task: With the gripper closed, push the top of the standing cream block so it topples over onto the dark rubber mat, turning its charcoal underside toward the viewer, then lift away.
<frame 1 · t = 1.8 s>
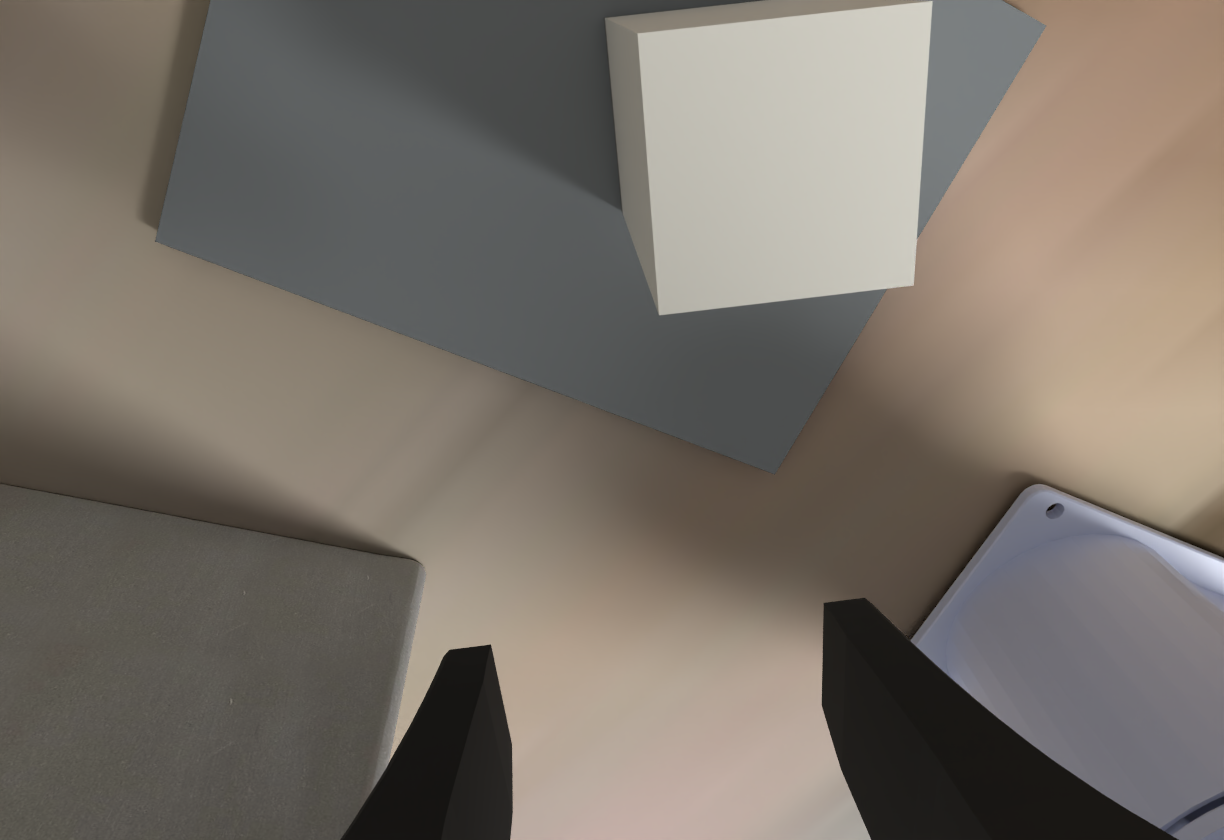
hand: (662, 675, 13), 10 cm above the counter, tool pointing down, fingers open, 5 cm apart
gray chamfered slab: (118, 613, 24), on the counter
cream block: (704, 108, 19), resting on rubber mat
rubber mat: (591, 132, 19), on the counter
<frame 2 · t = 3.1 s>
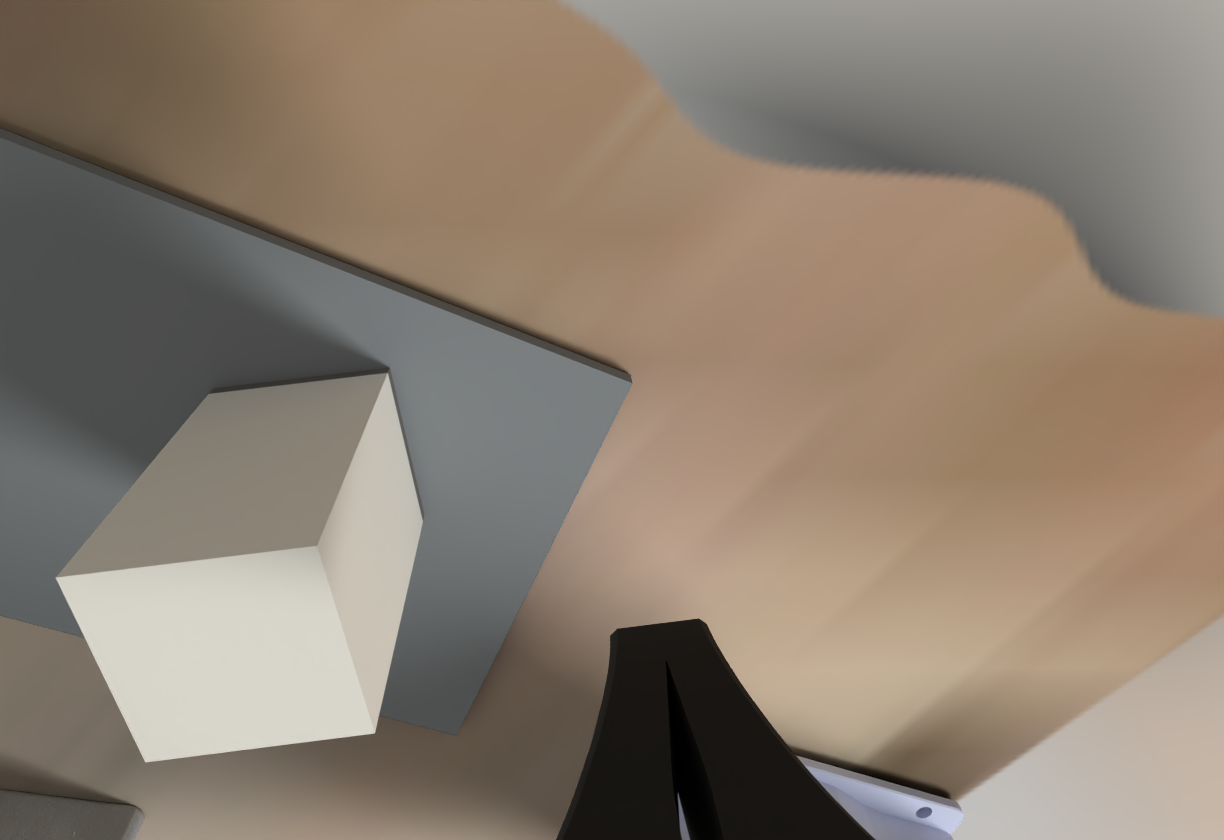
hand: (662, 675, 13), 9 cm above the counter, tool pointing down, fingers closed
cream block: (323, 454, 20), resting on rubber mat
rubber mat: (229, 467, 21), on the counter
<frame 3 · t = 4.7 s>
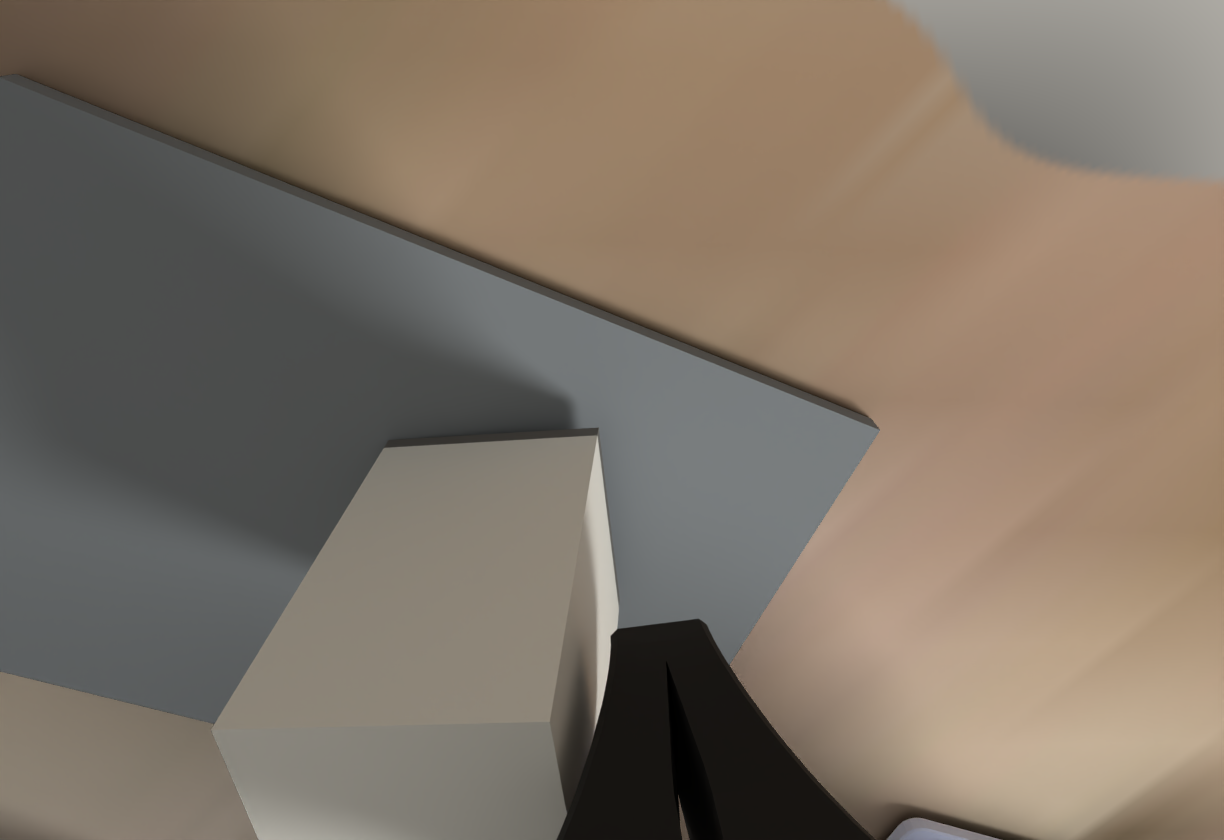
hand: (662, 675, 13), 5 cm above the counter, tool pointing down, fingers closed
cream block: (509, 523, 17), point 1 cm above the counter, tilted 8°, touching rubber mat
rubber mat: (393, 529, 18), on the counter
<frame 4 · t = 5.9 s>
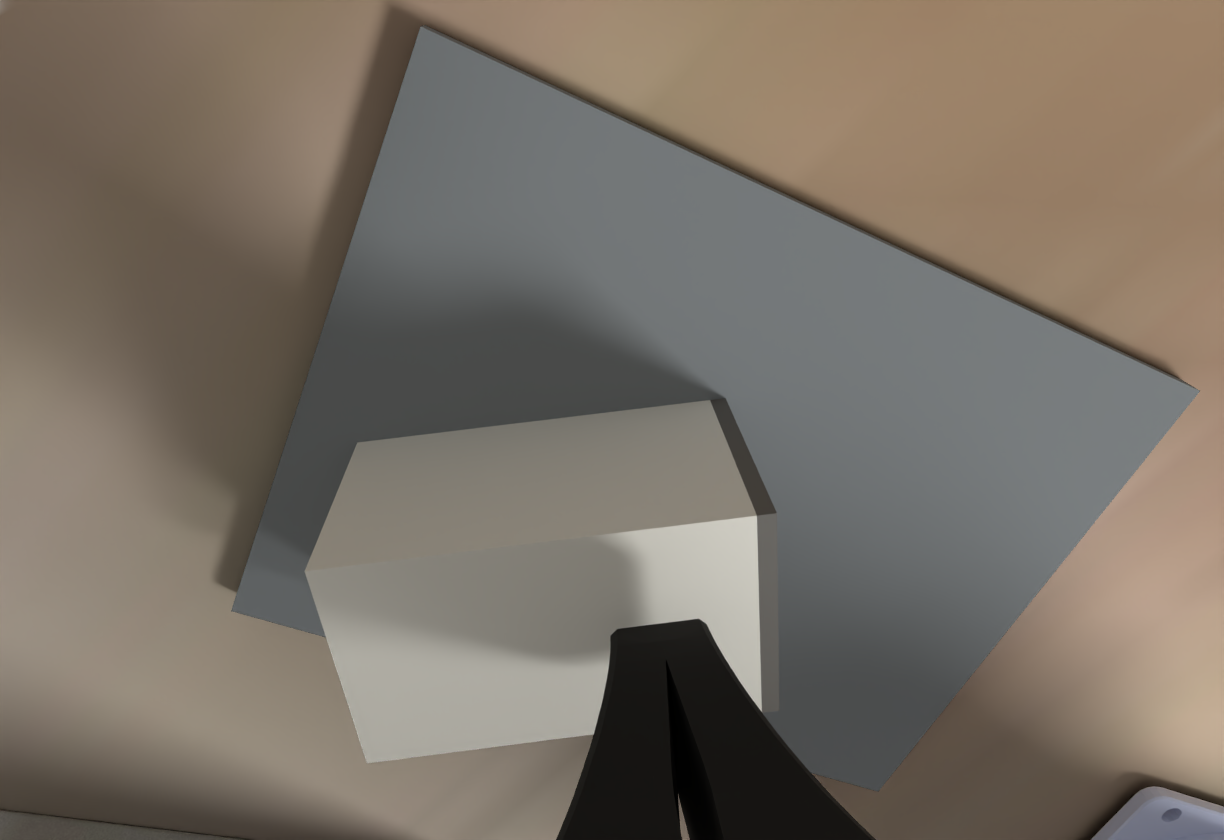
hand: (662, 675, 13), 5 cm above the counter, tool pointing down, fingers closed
cream block: (750, 545, 15), point 2 cm above the counter, tilted 90°, touching rubber mat
rubber mat: (701, 490, 18), on the counter
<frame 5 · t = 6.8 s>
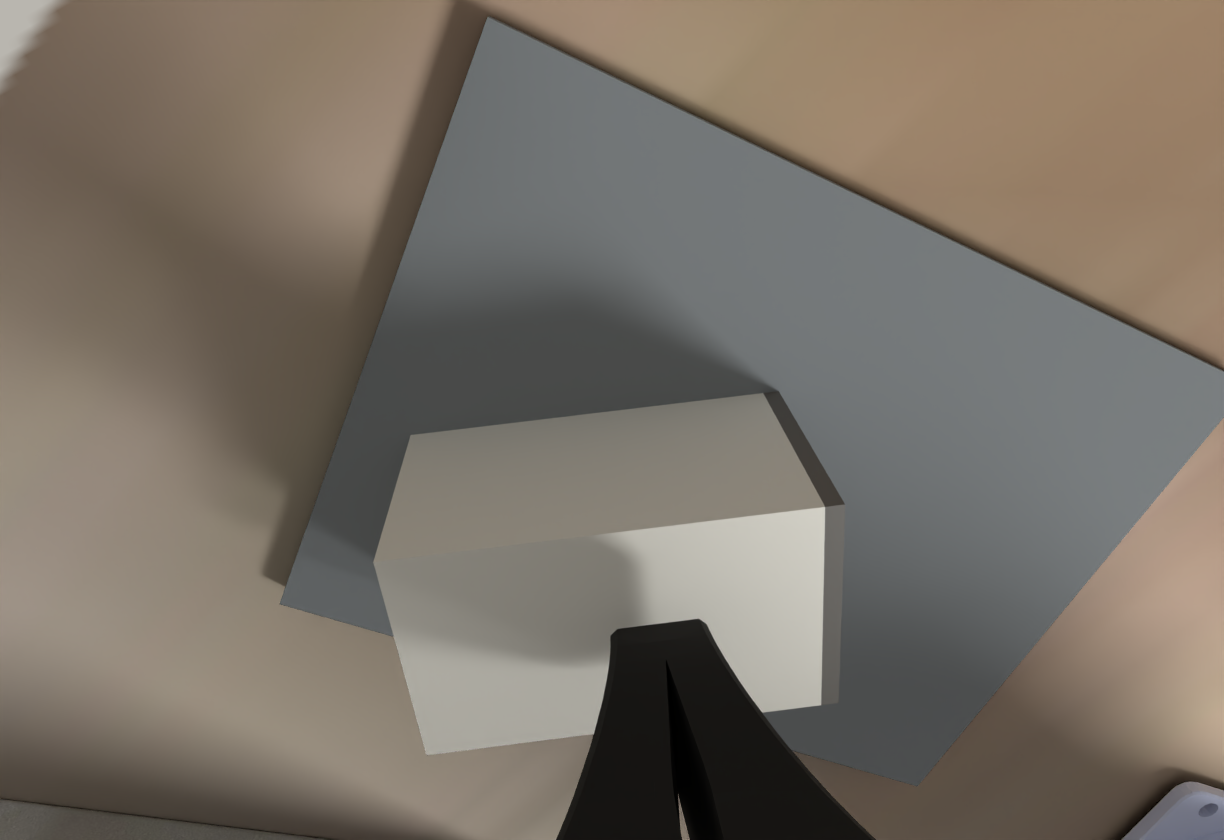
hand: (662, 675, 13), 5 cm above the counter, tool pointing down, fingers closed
cream block: (807, 538, 15), point 2 cm above the counter, tilted 90°, touching rubber mat
rubber mat: (750, 483, 18), on the counter
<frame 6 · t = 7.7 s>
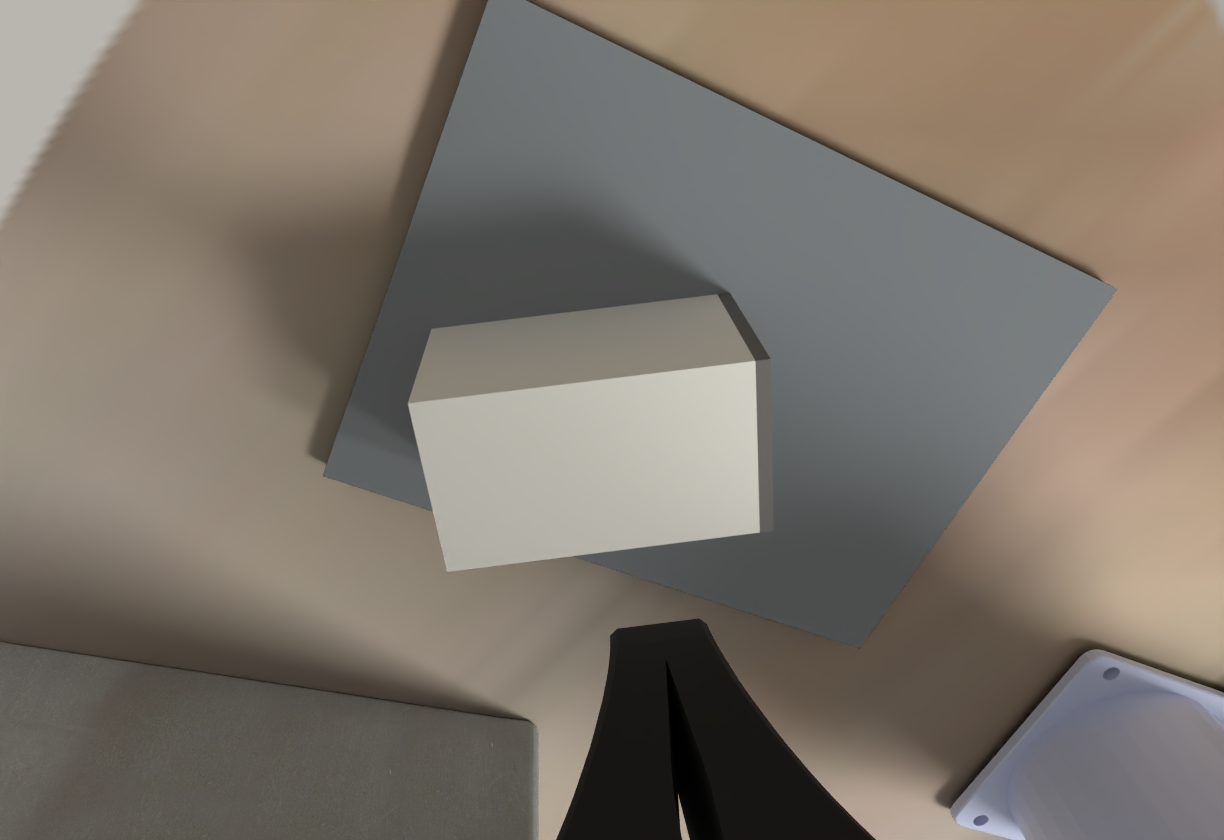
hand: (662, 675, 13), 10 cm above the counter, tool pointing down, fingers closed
gray chamfered slab: (257, 768, 27), on the counter
cream block: (750, 406, 19), point 2 cm above the counter, tilted 90°, touching rubber mat
rubber mat: (710, 375, 21), on the counter
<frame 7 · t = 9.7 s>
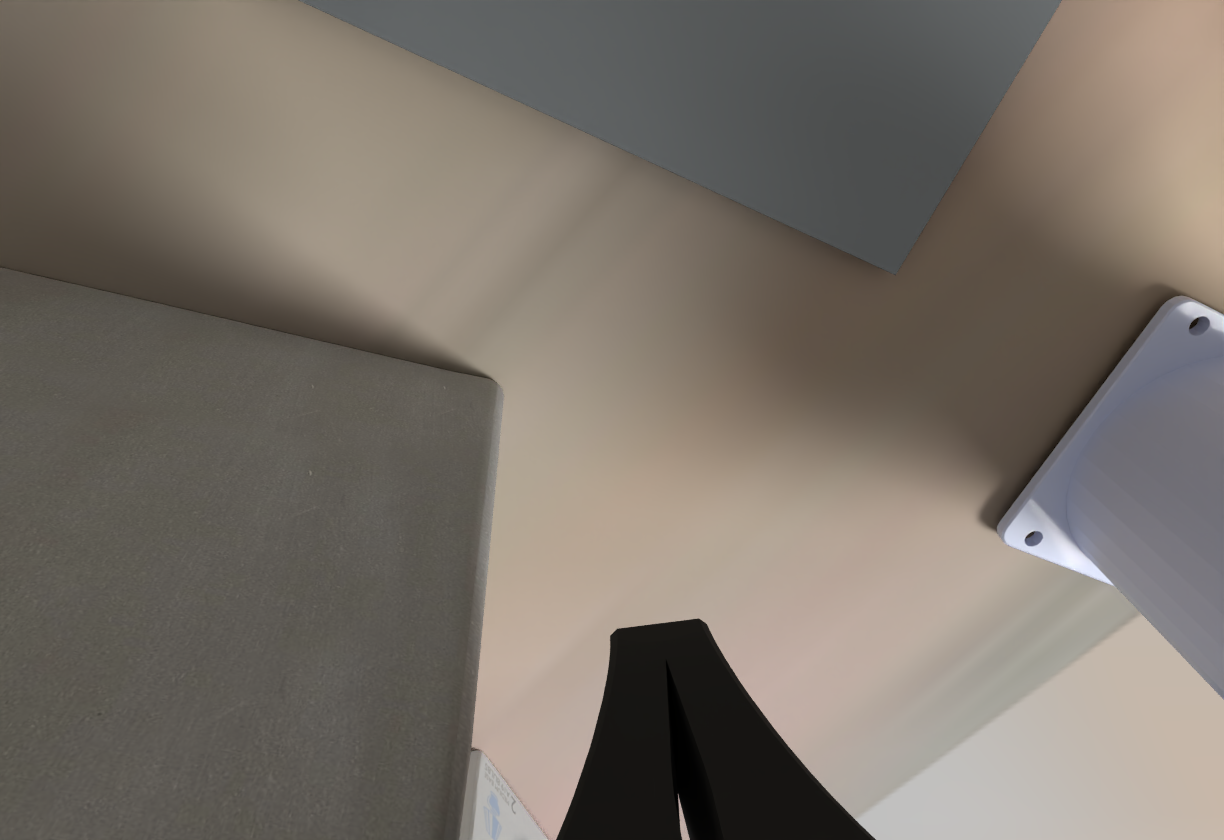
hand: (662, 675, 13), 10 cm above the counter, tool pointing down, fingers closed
gray chamfered slab: (163, 442, 22), on the counter
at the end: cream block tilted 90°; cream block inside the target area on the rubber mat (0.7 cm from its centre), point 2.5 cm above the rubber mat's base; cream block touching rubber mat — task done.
